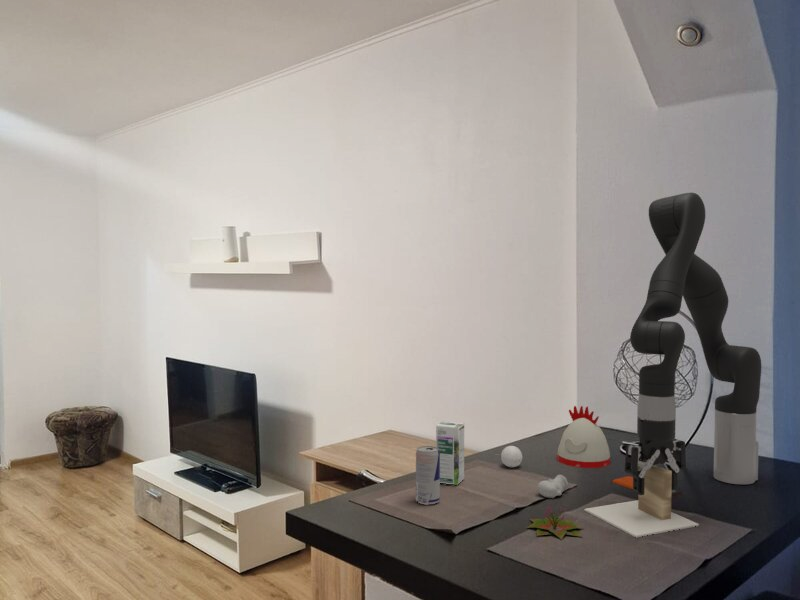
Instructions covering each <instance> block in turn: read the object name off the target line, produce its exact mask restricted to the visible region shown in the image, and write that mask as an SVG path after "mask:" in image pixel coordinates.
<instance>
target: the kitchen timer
mask: <svg viewBox="0 0 800 600" xmlns="http://www.w3.org/2000/svg"><path fill="white" fill-rule="evenodd" d="M568 413H569V415H570V418H571V420H572V421H571V422H570V423H569V424H568V426H567V427H566V428H565V430H564V431H562V436H561V439H560V442H559V445H558V449H557V461H558V462H559V463H561V464H562V465H566V466H570V467H575V468H581V469H582V468H583V469H596V468H597V469H598V468H604V467H607V466H609V465H610V464H611V452H610V448H609V444H608V441H607V438H606V436H605V434H604V432H603V430H602V429H601V427H600V426H599V425H598V424H597V422H598V419H599V417H600V416H598V415H597V416H596V418H595V419H593V416H594V411H591V412H590V413H589V406H586V407H585V409H584V407H583V405H580V407H579V411H578V408H577V405H574V406H573V410H571V409H568Z"/></svg>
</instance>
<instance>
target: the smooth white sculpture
mask: <svg viewBox="0 0 800 600" xmlns="http://www.w3.org/2000/svg"><path fill="white" fill-rule="evenodd" d="M568 482H569V481H568V479H567V478H566V477H565V476H564V475H563V474H557V475H556V476H555V477H554V479H552V478H549V479H547V480H541V481H540V482H539V483H538V484H537V491H538V493H539V494H540V495H541V496H543V497H545V498H548V499H550V498H551V499H554V498H555V497H557V496H562V493H563V492H565V491H566V490H567V489H568V487H569V486H568V485H569V483H568Z"/></svg>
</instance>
